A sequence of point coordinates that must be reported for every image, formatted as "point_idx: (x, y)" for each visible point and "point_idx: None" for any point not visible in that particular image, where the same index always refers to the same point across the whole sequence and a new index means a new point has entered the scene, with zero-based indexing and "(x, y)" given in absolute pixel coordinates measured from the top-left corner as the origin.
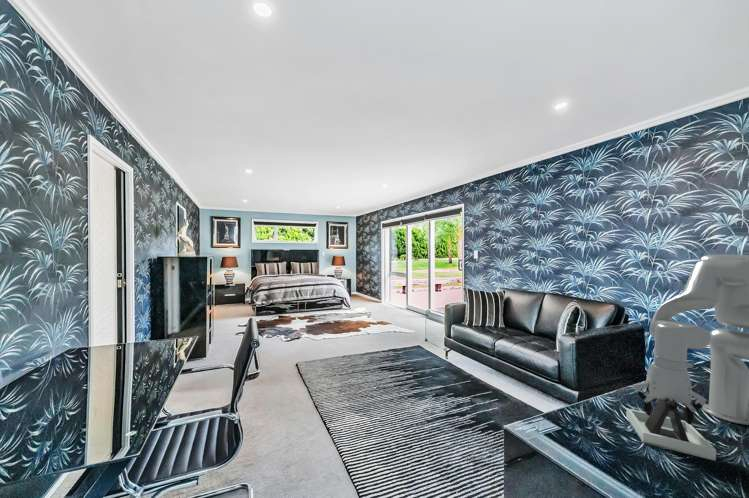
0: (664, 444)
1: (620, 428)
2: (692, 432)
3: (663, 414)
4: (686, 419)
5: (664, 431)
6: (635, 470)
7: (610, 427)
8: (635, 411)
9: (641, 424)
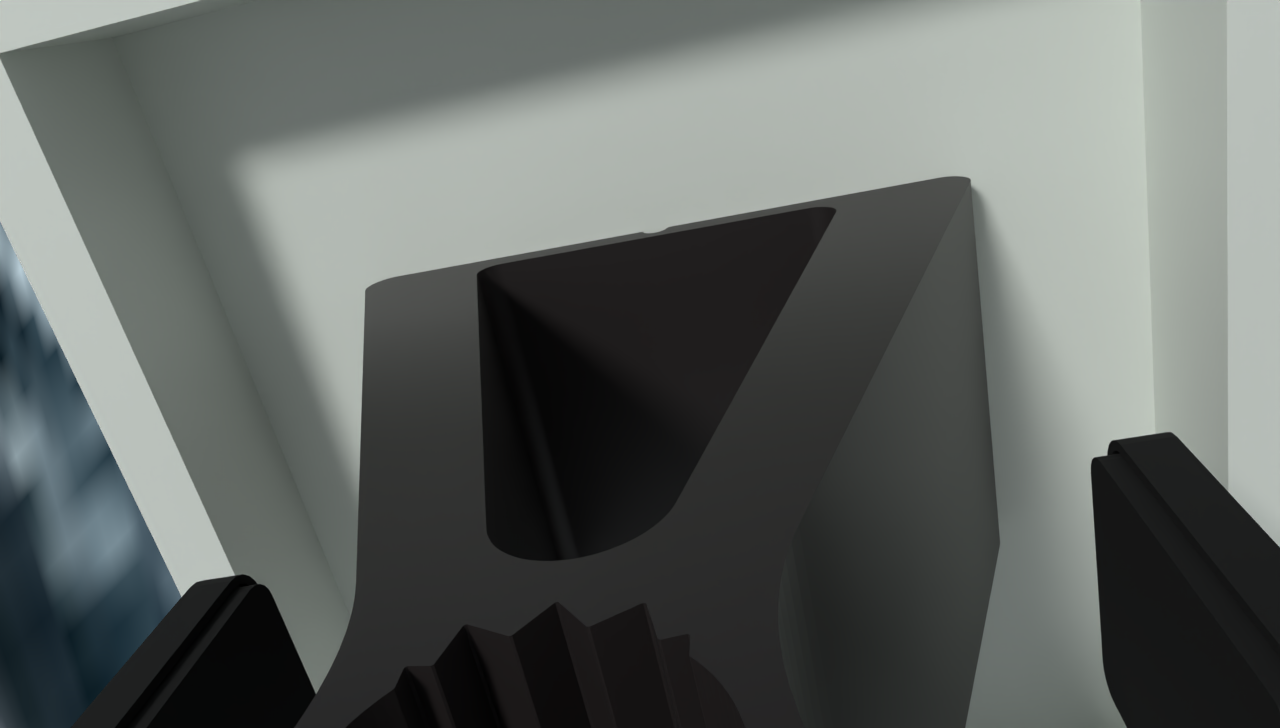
0: None
1: (113, 604)
2: (1196, 212)
3: None
4: (1129, 666)
5: (673, 368)
6: None
7: (12, 667)
8: (86, 34)
9: (324, 284)
